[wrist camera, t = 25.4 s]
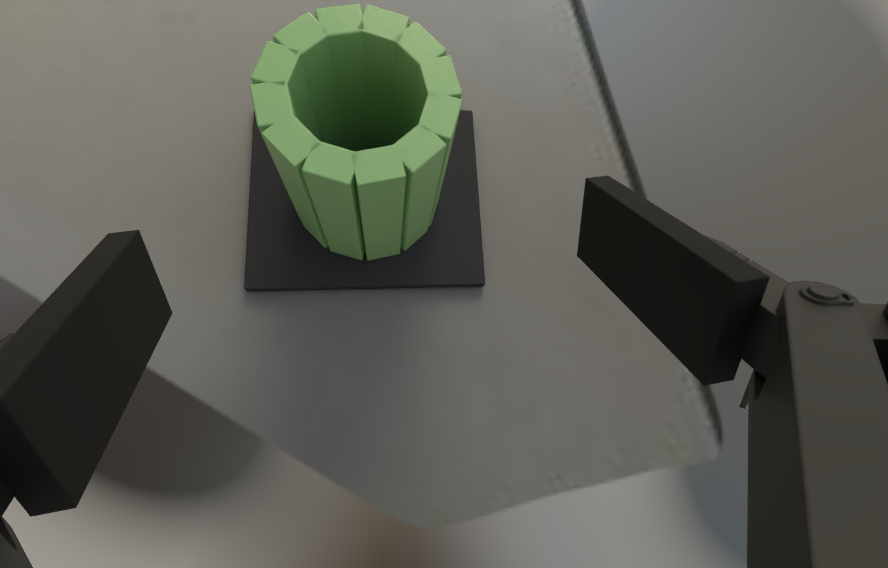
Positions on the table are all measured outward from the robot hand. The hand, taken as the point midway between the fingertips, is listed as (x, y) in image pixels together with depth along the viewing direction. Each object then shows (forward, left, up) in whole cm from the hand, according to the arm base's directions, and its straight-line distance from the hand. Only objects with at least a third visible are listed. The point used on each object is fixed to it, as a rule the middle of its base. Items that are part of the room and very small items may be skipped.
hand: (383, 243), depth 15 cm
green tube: (-1, +8, -14) cm, 16 cm away
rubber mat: (-1, +8, -14) cm, 16 cm away
